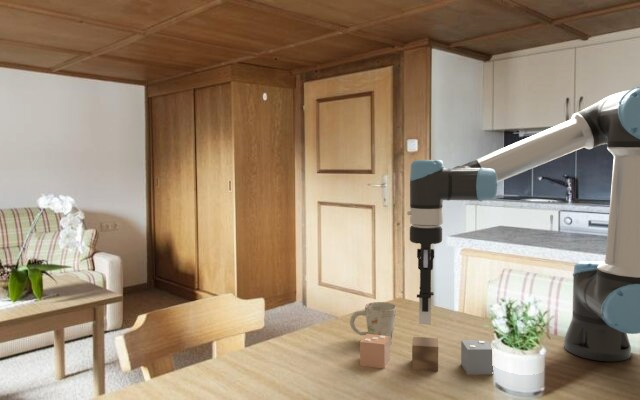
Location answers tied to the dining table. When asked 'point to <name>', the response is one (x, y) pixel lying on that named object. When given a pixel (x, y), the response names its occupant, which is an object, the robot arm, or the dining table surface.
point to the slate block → (476, 356)
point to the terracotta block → (375, 351)
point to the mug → (377, 319)
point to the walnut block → (425, 354)
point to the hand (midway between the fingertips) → (424, 323)
